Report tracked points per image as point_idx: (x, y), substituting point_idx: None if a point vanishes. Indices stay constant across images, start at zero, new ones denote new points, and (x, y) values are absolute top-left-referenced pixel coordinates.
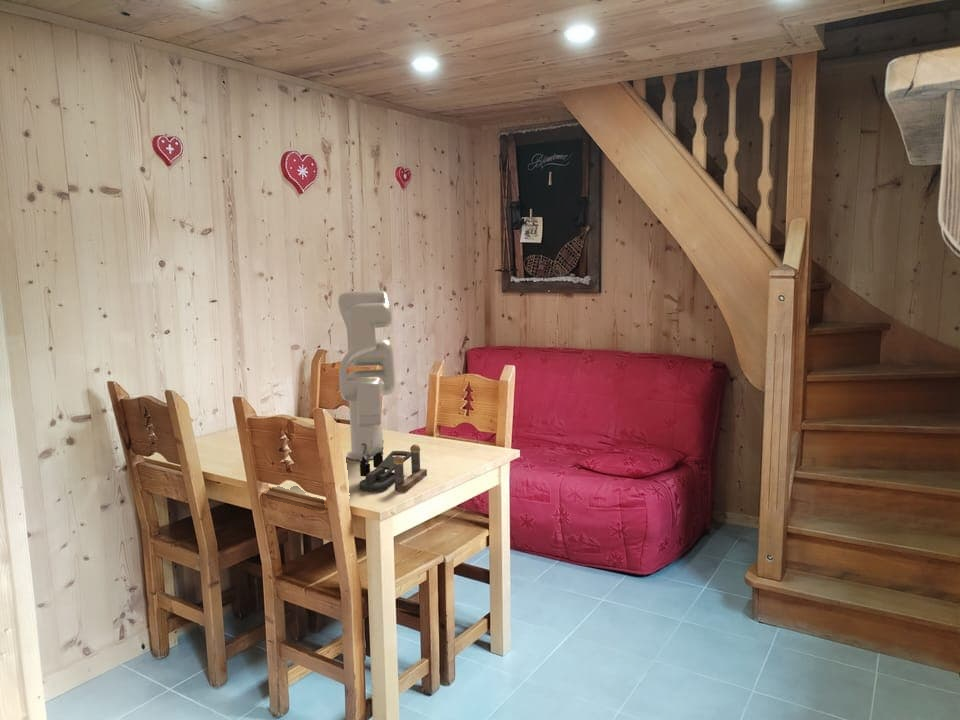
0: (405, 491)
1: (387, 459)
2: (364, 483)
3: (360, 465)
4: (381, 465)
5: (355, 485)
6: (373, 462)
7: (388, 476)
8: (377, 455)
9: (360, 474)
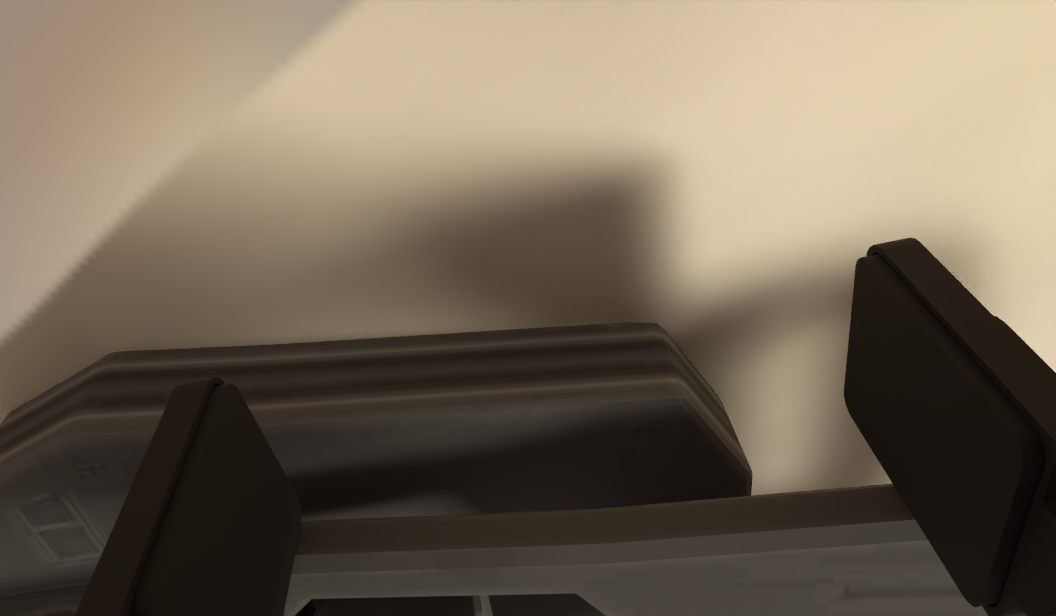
0: None
1: None
2: (22, 553)
3: (97, 597)
4: (666, 595)
5: (137, 207)
6: (919, 320)
7: (521, 602)
8: (1035, 558)
9: (172, 400)
